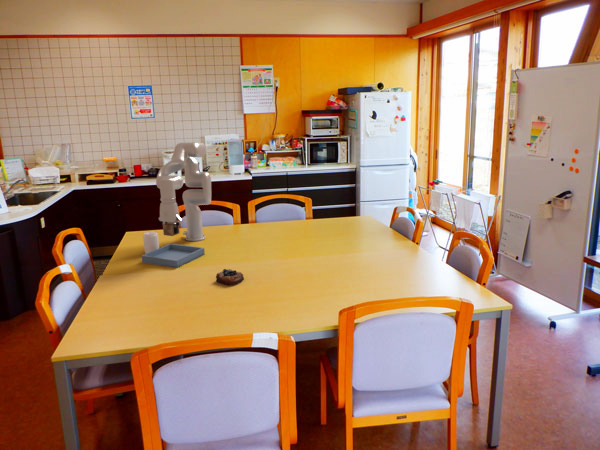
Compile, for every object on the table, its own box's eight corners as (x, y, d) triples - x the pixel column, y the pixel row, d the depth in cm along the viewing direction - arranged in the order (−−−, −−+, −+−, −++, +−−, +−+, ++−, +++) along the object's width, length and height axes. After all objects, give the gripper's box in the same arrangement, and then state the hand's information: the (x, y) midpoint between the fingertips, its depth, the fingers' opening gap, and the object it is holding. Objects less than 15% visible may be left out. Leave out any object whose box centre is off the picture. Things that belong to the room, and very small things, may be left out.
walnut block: (163, 235, 260) (162, 224, 258) (170, 232, 265) (169, 221, 263) (172, 236, 257) (171, 225, 256) (179, 233, 262) (178, 222, 261)
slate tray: (142, 262, 259) (141, 255, 258) (171, 250, 280) (170, 243, 279) (177, 268, 249) (176, 260, 248) (204, 254, 270) (204, 247, 269)
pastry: (229, 275, 238) (229, 264, 236) (247, 280, 231) (246, 269, 229) (213, 282, 229) (212, 270, 228) (230, 287, 222) (230, 275, 221)
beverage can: (142, 253, 274) (139, 233, 271) (152, 249, 281) (150, 230, 278) (152, 255, 271) (150, 235, 268) (162, 251, 278) (160, 231, 274)
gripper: (151, 201, 257) (154, 233, 261) (176, 203, 249) (179, 236, 254) (160, 198, 263) (163, 230, 268) (185, 200, 256) (188, 232, 261)
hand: (171, 232), depth 261 cm, fingers closed on walnut block, 6 cm apart
